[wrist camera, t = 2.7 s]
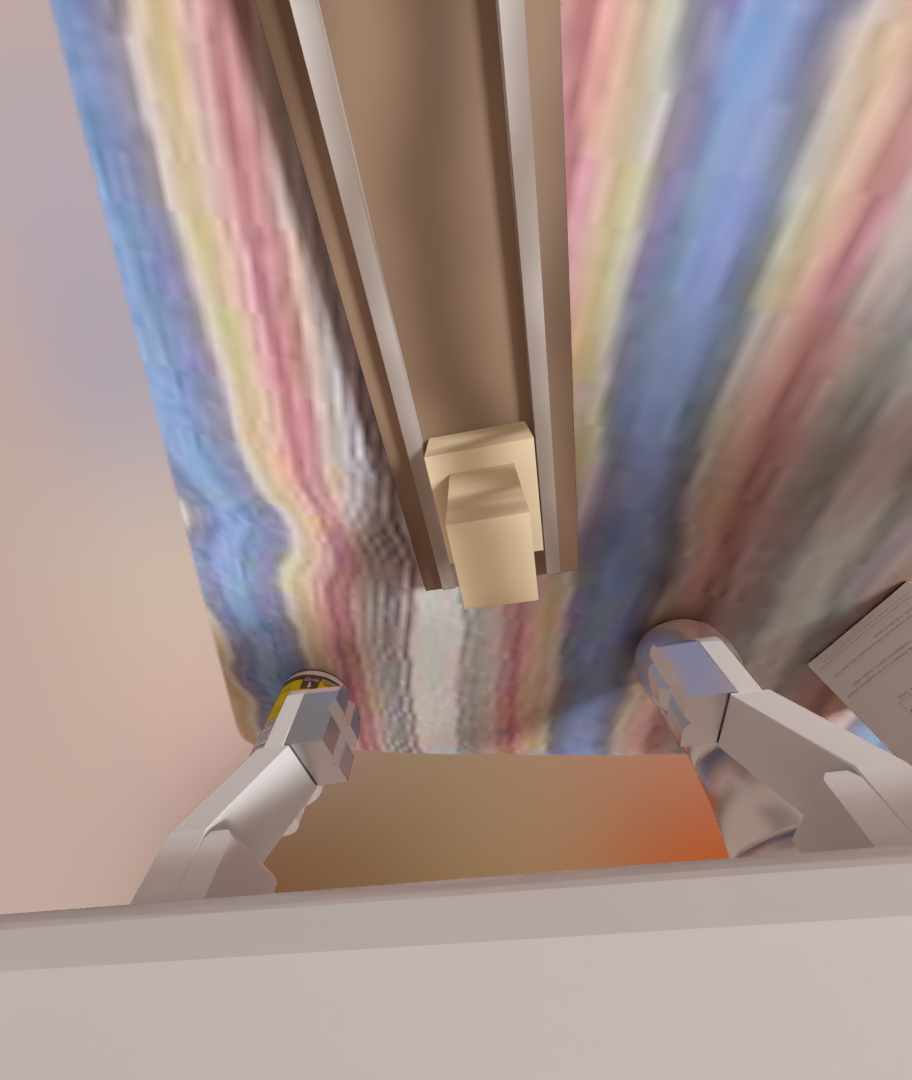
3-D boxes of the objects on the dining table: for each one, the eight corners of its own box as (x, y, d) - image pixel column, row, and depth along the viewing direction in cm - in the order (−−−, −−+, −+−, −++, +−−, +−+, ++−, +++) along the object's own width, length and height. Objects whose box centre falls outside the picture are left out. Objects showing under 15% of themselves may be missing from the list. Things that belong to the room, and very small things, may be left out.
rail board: (517, -778, 8) (626, -2973, 3) (572, 556, 26) (602, 624, 20) (108, -563, 9) (-406, -1821, 4) (427, 577, 27) (418, 647, 21)
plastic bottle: (609, 657, 31) (791, 1095, 14) (660, 595, 28) (986, 1070, 10) (677, 677, 32) (924, 1106, 15) (734, 620, 29) (1140, 1087, 11)
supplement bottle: (364, 691, 34) (328, 827, 25) (323, 716, 35) (277, 851, 27) (313, 656, 31) (254, 791, 23) (272, 685, 33) (204, 820, 25)
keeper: (524, 420, 20) (557, 481, 13) (534, 522, 23) (565, 615, 16) (429, 438, 20) (411, 505, 13) (451, 535, 23) (445, 630, 16)
